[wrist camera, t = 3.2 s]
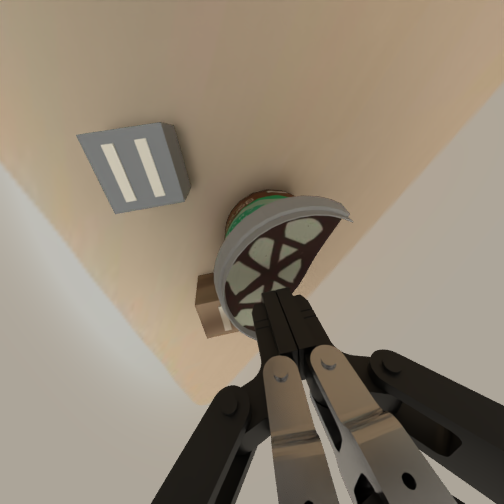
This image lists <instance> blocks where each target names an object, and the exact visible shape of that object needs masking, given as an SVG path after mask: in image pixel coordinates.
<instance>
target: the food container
mask: <svg viewBox="0 0 504 504" xmlns="http://www.w3.org/2000/svg"><path fill="white" fill-rule="evenodd" d="M349 215H350V213H349V212H348V211H347V210H346V209H345V207H344V206H343V205H342V204H341V203H339V202H336V201H334V200H331V199H328V198H323V197H319V196H294V195H291V194H289V193H286V192H284V191H278V190H264V191H260V192H256V193H252V194H251V195H249V196H247V197H246V198H244V199H243V200H241V201H240V202H239V203H238V204H237V205H236V206H235V207H234V208H233V210H232V211H231V213H230V215H229V217H228V220H227V223H226V228H225V241H224V242H223V244H222V246H221V248H220V250H219V253H218V255H217V258H216V262H215V267H214V284H215V289H216V293H217V296H218V298H219V301H220V304H221V306H222V308H223V311H224V313H225V314H226V316H227V317H228V318H229V320H230V321H231V322H232V324H233V325H234V326H235V327H236V328H237V329H238V330H239V331H240V332H241V333H243V334H245V335H246V336H248V337H250V338H252V339H254V340H257V338H256V333H255V328H254V323H253V318H252V310H253V306H254V305H255V304H260V303H262V296H261V293H263V292H268V291H273V290H274V291H275V290H277V289H282V288H286V287H289V289H290V291H291V293H293V292H294V290H295V289H296V288H297V287H298V285H299V284H300V282H301V281H302V279H303V277H304V276H305V274H306V272H307V270H308V268H309V267H310V265H311V263H312V261H313V260H314V258H315V256H316V255H317V253H318V252H319V250H320V249H321V247H322V246H323V244H324V243H325V241H326V240H327V239H328V237H329V236H330V234H331V233H332V232H333V230H334V229H335V227H336V226H337V225H338V223H339V222H340V220H341V218H342V219H345V220H348V221H350V222H353V220H351V219H350V218H348V216H349Z"/></svg>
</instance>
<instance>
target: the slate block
mask: <svg viewBox="0 0 504 504" xmlns="http://www.w3.org/2000/svg"><path fill="white" fill-rule="evenodd" d="M76 136H77V138H78V140H79V142H80V144H81V146H82V148H83V150H84V152H85V154H86V156H87V158H88V160H89V162H90V164H91V166H92V168H93V170H94V172H95V174H96V176H97V178H98V181H99V183H100V185H101V187H102V189H103V191H104V193H105V195H106V197H107V199H108V201H109V203H110V205H111V207H112V209H113V211H114V213H115V214H118V213H124V212H130V211H135V210H141V209H146V208H152V207H158V206H163V205H169V204H174V203H180V202H185V200H186V198H187V195H188V193H189V191H190V189H191V185H190V182H189V178H188V174H187V171H186V167H185V164H184V160H183V157H182V153H181V150H180V146H179V142H178V139H177V135H176V132H175V128H174V125H170V124H166V123H162V122H159V123H152V124H145V125H139V126H132V127H125V128H119V129H112V130H106V131H99V132H92V133H86V134H79V135H76Z"/></svg>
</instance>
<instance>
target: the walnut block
mask: <svg viewBox="0 0 504 504" xmlns="http://www.w3.org/2000/svg"><path fill="white" fill-rule="evenodd" d="M195 307H196V310H197V312H198V315H199V318H200V320H201V323H202V326H203V328H204V331H205V334H206V336H207V338H211V337H216V336H220V335H225V334H229V333H234V332H238V331H239V330H238V329H237V328H236V327H235V326H234V325H233V324H232V322H231V321H230V320H229V318H228V317H227V316H226V314H225V313H224V311H223V308H222V306H221V304H220V301H219V298H218V296H217V293H216V289H215V284H214V273H210V274H205V275H200V276H198V282H197V291H196V300H195Z"/></svg>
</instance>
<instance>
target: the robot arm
mask: <svg viewBox="0 0 504 504" xmlns="http://www.w3.org/2000/svg"><path fill="white" fill-rule="evenodd" d="M261 296H262V303H260V304H255V305H254V306H253V310H252V318H253V323H254V328H255V333H256V338H257V342H258V347H259V352H260V356H261V368H260V371H259V373H258V374H257V376H256V377H255V378H254V379H253V380H252V381H250V382H249V383H247V384H245V385H244V386H243V387H238V386H235V385H233V386H232V385H231V386H227V387H225V388H223V389H222V390H220V391H219V392H218V393H217V395H216V396H215V397H214V399H213V401H212V403H211V404H210V406H209V408H208V409H207V411H206V413H205V414H204V416H203V418H202V419H201V421H200V423H199V424H198V426H197V428H196V429H195V431H194V433H193V434H192V436H191V438H190V439H189V441H188V443H187V444H186V446H185V448H184V449H183V451H182V453H181V454H180V456H179V458H178V459H177V461H176V463H175V464H174V466H173V468H172V469H171V471H170V473H169V474H168V476H167V478H166V479H165V481H164V483H163V484H162V486H161V488H160V489H159V491H158V493H157V494H156V496H155V498H154V499H153V501H152V503H151V504H235V503H236V500H237V497H238V495H239V492H240V490H241V487H242V484H243V482H244V479H245V477H246V474H247V472H248V469H249V467H250V464H251V461H252V459H253V456H254V454H255V451H256V448H257V446H258V445H259V444H260V443H262V442H263V441H264V440H265V439H267V438H268V437H269V436H270V435H271V443H272V453H273V462H274V469H275V477H276V485H277V493H278V501H279V504H339V501H338V498H337V495H336V491H335V488H334V484H333V481H332V477H331V474H330V470H329V467H328V463H327V460H326V456H325V453H324V449H323V446H322V443H321V440H320V438H319V436H318V434H317V433H316V430H315V427H314V424H313V420H312V417H311V413H310V410H309V406H308V402H307V399H306V395H305V391H304V388H303V384H302V381H301V380H305V379H306V380H307V383H308V386H309V388H310V398H311V400H312V403H313V405H314V407H315V410H316V412H317V414H318V416H319V419H320V421H321V423H322V425H323V428H324V430H325V432H326V435H327V437H328V439H329V441H330V444H331V446H332V448H333V451H334V453H335V456H336V460H337V464H338V468H339V471H340V473H341V476H342V479H343V481H344V483H345V486H346V488H347V491H348V493H349V495H350V498H351V500H352V502H353V504H465V503H463V502H462V501H460V500H459V499H457V498H456V497H454V496H452V495H451V494H450V492H449V491H448V490H447V488H446V487H445V485H444V484H443V482H442V481H441V480H440V478H439V477H438V475H437V474H436V473H435V471H434V470H433V469H432V467H431V466H430V464H429V463H428V461H427V460H426V459H425V457H424V456H423V454H422V453H421V452H420V451H419V450H421V451H422V452H424V453H425V454H427V455H428V456H429V457H431V458H432V459H434V460H435V461H436V462H438V463H439V464H441V465H442V466H444V467H445V468H446V469H448V470H449V471H451V472H452V473H454V474H455V475H456V476H458V477H459V478H461V479H462V480H464V481H465V482H466V483H468V484H469V485H471V486H472V487H473V488H475V489H477V490H478V491H479V492H481V493H482V494H484V495H485V496H486V497H488V498H489V499H491V500H492V501H493V502H495V503H496V504H504V406H503V405H501V404H499V403H497V402H495V401H493V400H491V399H489V398H487V397H484V396H483V395H481V394H479V393H477V392H475V391H473V390H470V389H468V388H467V387H464V386H462V385H460V384H458V383H456V382H454V381H452V380H450V379H448V378H446V377H444V376H442V375H440V374H438V373H436V372H434V371H432V370H430V369H428V368H426V367H424V366H422V365H420V364H418V363H416V362H413V361H412V360H410V359H408V358H406V357H404V356H402V355H400V354H397V353H395V352H393V351H389V350H377V351H375V352H374V353H373V354H372V355H371V357H365V356H353V355H349V354H346V353H343V352H341V351H340V350H338V349H337V348H336V347H335V346H334V345H333V344H332V343H331V341H330V339H329V338H328V336H327V334H326V332H325V330H324V329H323V327H322V325H321V323H320V322H319V320H318V318H317V317H316V314H315V313H314V311H313V310H312V307H311V306H310V304H309V302H308V300H306V299H305V298H304V297H303V296H301V295H296V296H293V295H292V293H291V291H290V289H289V287H286V288H282V289H277V290H275V291H274V290H273V291H268V292H263V293H261Z"/></svg>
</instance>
